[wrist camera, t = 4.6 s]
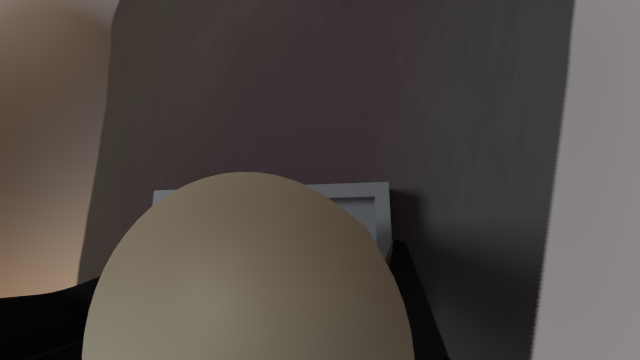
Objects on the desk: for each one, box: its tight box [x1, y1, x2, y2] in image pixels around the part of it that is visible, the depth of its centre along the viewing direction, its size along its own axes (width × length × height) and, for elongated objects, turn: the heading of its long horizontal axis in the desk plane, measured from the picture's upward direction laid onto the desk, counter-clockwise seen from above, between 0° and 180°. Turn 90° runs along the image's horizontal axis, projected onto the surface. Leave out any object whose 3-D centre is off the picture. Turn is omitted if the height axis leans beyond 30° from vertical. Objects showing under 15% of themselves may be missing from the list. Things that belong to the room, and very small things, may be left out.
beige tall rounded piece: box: [82, 172, 415, 360], centre depth 9 cm, size 4×4×12 cm
